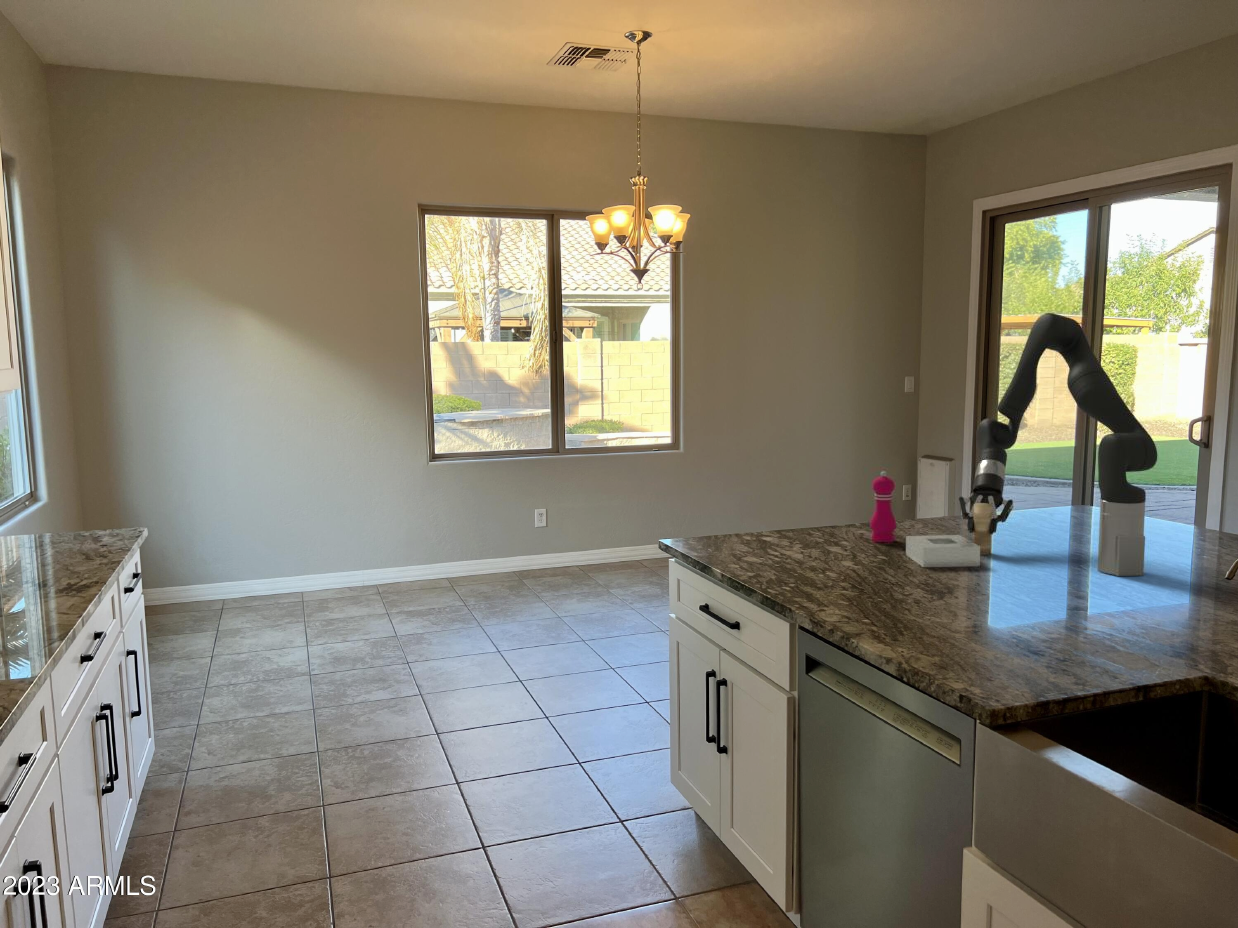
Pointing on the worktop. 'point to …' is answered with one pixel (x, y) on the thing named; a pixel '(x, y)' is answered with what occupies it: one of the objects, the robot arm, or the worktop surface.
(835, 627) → the worktop surface
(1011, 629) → the worktop surface
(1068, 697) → the worktop surface
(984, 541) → the peg
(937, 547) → the white square frame block
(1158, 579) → the worktop surface
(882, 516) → the pepper mill
